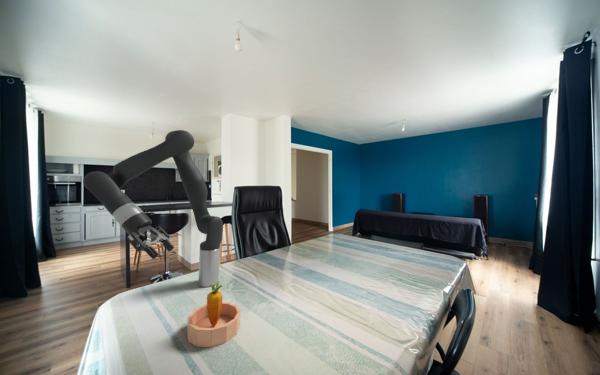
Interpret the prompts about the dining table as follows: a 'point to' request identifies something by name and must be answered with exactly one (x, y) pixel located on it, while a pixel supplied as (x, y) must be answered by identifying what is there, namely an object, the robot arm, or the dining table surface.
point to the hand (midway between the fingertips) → (164, 253)
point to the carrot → (214, 304)
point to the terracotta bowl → (208, 335)
